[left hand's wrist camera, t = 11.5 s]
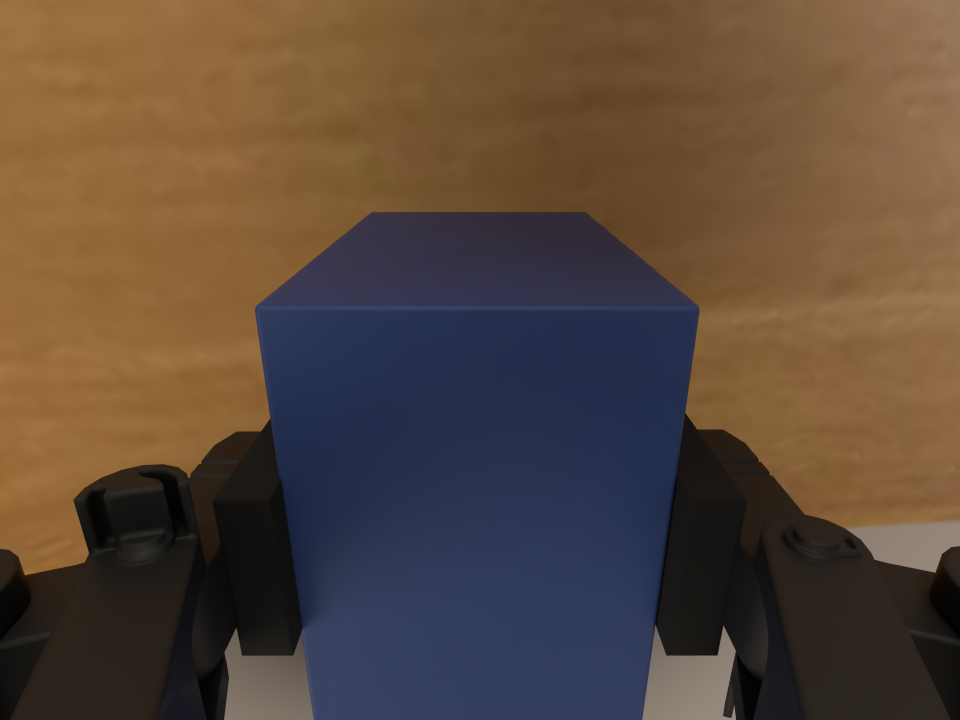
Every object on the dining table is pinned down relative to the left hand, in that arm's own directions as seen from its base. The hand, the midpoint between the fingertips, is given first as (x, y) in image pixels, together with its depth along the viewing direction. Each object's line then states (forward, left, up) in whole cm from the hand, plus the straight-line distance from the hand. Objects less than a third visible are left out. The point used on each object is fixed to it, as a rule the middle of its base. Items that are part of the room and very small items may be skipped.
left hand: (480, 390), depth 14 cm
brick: (0, 0, -3) cm, 3 cm away
